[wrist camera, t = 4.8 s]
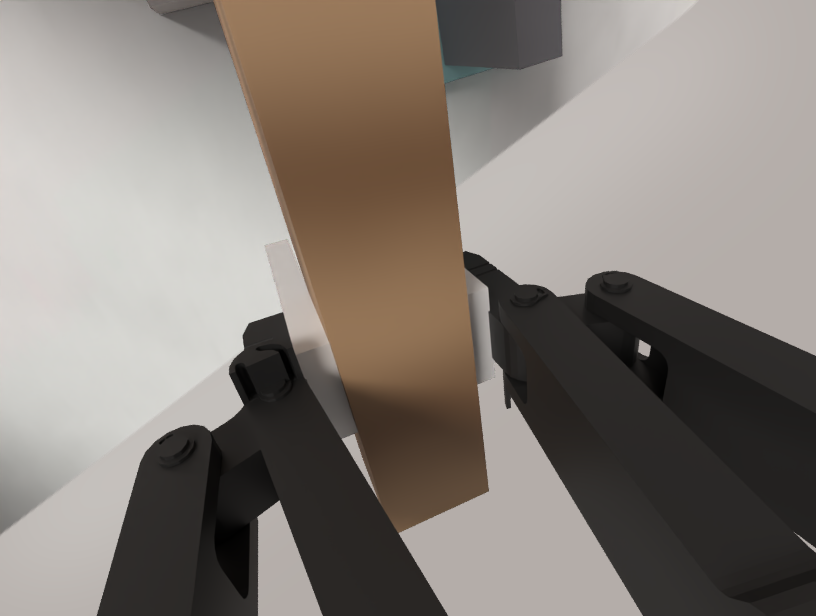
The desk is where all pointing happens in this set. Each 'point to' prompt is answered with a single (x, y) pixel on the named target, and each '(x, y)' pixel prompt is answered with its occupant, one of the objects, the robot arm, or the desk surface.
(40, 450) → the desk surface
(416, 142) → the walnut rod
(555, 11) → the stand
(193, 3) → the riser block
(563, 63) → the desk surface
